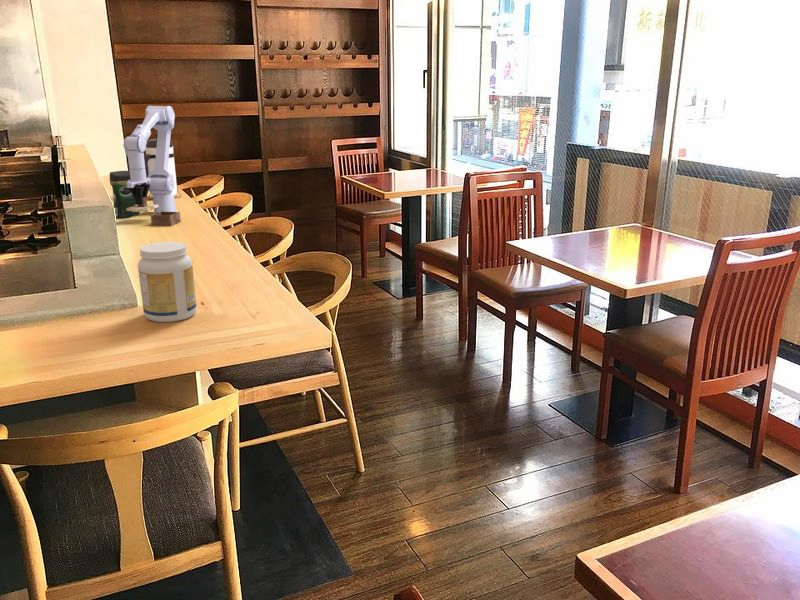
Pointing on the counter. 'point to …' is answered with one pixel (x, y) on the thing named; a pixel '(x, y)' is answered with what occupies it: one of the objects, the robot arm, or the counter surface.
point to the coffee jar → (122, 194)
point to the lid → (142, 207)
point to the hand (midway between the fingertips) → (141, 203)
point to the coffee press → (150, 161)
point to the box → (165, 218)
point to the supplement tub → (166, 282)
